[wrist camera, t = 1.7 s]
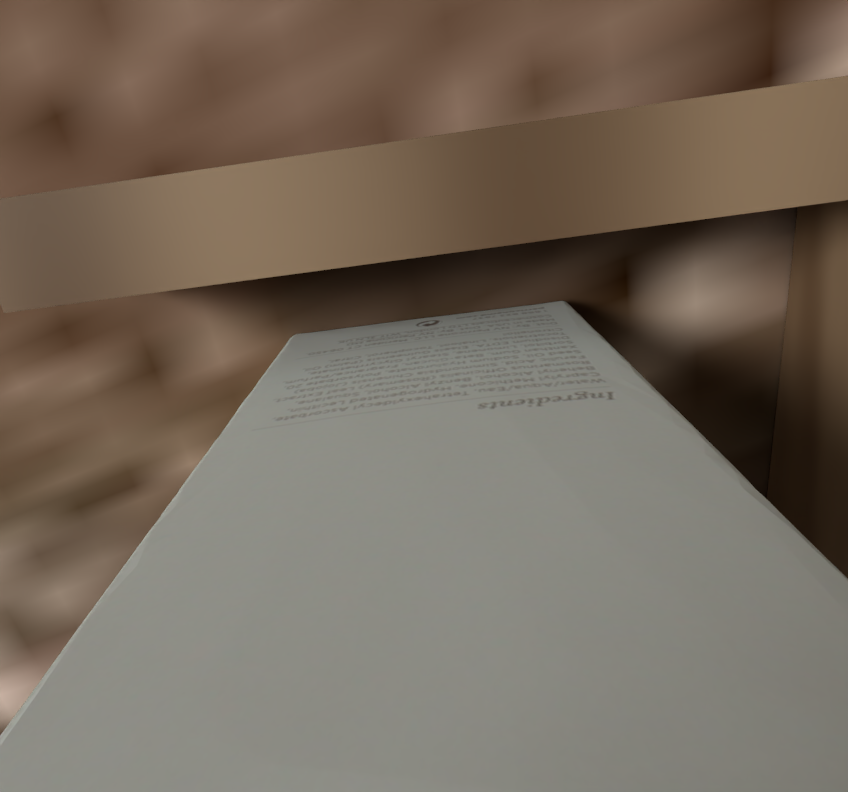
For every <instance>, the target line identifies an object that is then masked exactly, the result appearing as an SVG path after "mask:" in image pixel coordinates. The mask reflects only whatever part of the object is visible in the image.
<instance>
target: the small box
mask: <svg viewBox="0 0 848 792" xmlns="http://www.w3.org/2000/svg"><path fill="white" fill-rule="evenodd" d="M0 792H848V578H847V577H846V576H845V575H844V574H842V573H841V572H840V571H839V570H838V569H837V568H836V567H835V566H834V565H833V564H832V563H831V562H830V561H829V560H828V559H827V558H826V557H825V556H824V555H823V554H822V553H821V552H820V551H819V550H818V549H817V548H816V547H815V546H814V545H813V544H812V543H811V542H810V541H809V540H808V539H807V538H806V537H804V536H803V535H802V534H801V533H800V532H799V531H798V530H797V529H796V528H795V527H794V526H793V525H792V524H791V523H790V522H789V521H788V520H787V519H786V518H785V517H784V516H783V515H782V514H781V513H780V512H779V511H778V510H777V509H776V508H775V507H774V506H773V505H772V504H771V503H770V502H769V501H768V500H767V499H766V498H765V497H764V496H763V495H762V494H761V493H759V492H758V491H757V490H756V489H755V488H754V487H753V486H752V484H751V483H750V482H749V481H748V480H747V479H746V478H745V477H744V476H743V475H742V474H741V473H740V472H739V471H738V470H737V469H736V468H735V467H734V466H733V465H732V464H731V463H730V462H729V461H728V460H727V459H726V458H725V457H724V456H723V455H722V454H721V453H720V452H719V451H718V450H717V449H716V448H715V447H714V446H713V445H712V444H711V443H710V442H709V441H708V440H707V439H706V438H705V437H704V436H703V435H702V434H701V433H700V432H699V431H698V430H697V429H696V428H695V427H694V426H693V425H692V424H691V423H690V422H689V421H688V420H687V419H686V418H685V417H684V416H683V415H682V414H681V413H680V412H678V411H677V410H676V409H675V408H674V407H673V406H672V405H671V404H670V403H669V402H668V401H667V400H666V399H665V398H664V397H663V396H662V395H661V394H660V393H659V392H658V391H657V390H656V389H655V388H654V387H653V386H652V385H651V384H650V383H649V382H648V381H647V380H646V379H645V378H644V377H643V376H642V375H641V374H640V373H639V372H638V371H637V370H636V369H635V368H634V367H633V366H632V365H631V364H630V363H629V362H628V361H627V360H626V359H625V358H624V357H623V356H622V355H620V354H619V353H618V352H617V351H616V350H615V349H614V348H613V347H612V346H611V345H610V344H609V343H608V342H607V341H606V340H605V339H604V338H603V337H602V336H601V335H600V334H599V333H598V332H597V331H596V330H595V329H593V328H592V327H591V326H590V325H589V324H588V323H587V322H586V321H585V320H584V318H583V317H582V316H581V315H579V314H578V313H577V312H576V311H575V310H574V309H573V308H572V307H571V306H570V305H569V304H568V303H567V302H566V301H557V302H550V303H542V304H535V305H527V306H519V307H510V308H502V309H494V310H486V311H478V312H470V313H462V314H454V315H446V316H437V317H429V318H421V319H413V320H404V321H396V322H389V323H381V324H374V325H366V326H358V327H350V328H342V329H334V330H326V331H318V332H311V333H301V334H296V335H293V336H292V337H291V338H290V339H289V341H288V342H287V343H286V345H285V346H284V348H283V349H282V350H281V352H280V353H279V354H278V356H277V357H276V358H275V360H274V361H273V362H272V364H271V365H270V367H269V368H268V369H267V371H266V372H265V373H264V375H263V376H262V377H261V379H260V380H259V381H258V383H257V385H256V386H255V388H254V389H253V390H252V392H251V393H250V394H249V395H248V397H247V398H246V399H245V400H244V402H243V403H242V404H241V405H240V407H239V408H238V410H237V412H236V413H235V415H234V416H233V417H232V419H231V420H230V422H229V423H228V424H227V426H226V427H225V429H224V430H223V431H222V433H221V434H220V435H219V437H218V438H217V439H216V441H215V442H214V443H213V445H212V446H211V447H210V449H209V450H208V452H207V453H206V455H205V456H204V457H203V459H202V460H201V461H200V463H199V464H198V465H197V466H196V468H195V469H194V471H193V472H192V473H191V475H190V476H189V477H188V479H187V480H186V481H185V483H184V484H183V486H182V487H181V488H180V490H179V491H178V493H177V494H176V496H175V497H174V498H173V500H172V501H171V502H170V504H169V505H168V506H167V508H166V509H165V511H164V512H163V513H162V515H161V516H160V518H159V519H158V521H157V522H156V523H155V525H154V526H153V527H152V529H151V530H150V531H149V532H148V534H147V535H146V536H145V538H144V539H143V540H142V542H141V543H140V545H139V546H138V547H137V549H136V550H135V552H134V553H133V554H132V556H131V557H130V558H129V560H128V561H127V563H126V564H125V565H124V567H123V568H122V569H121V571H120V572H119V574H118V575H117V576H116V578H115V579H114V580H113V582H112V583H111V584H110V586H109V587H108V588H107V590H106V591H105V593H104V594H103V595H102V597H101V598H100V599H99V601H98V602H97V603H96V605H95V606H94V608H93V609H92V610H91V612H90V613H89V614H88V616H87V617H86V618H85V620H84V621H83V622H82V624H81V625H80V627H79V628H78V629H77V631H76V632H75V634H74V635H73V636H72V638H71V639H70V641H69V642H68V643H67V645H66V646H65V647H64V649H63V650H62V652H61V653H60V654H59V656H58V657H57V659H56V660H55V661H54V663H53V664H52V665H51V667H50V668H49V670H48V671H47V672H46V674H45V675H44V677H43V678H42V679H41V681H40V682H39V684H38V685H37V686H36V688H35V689H34V690H33V692H32V693H31V695H30V696H29V697H28V699H27V700H26V701H25V703H24V704H23V705H22V707H21V708H20V710H19V711H18V712H17V714H16V715H15V716H14V718H13V719H12V720H11V722H10V723H9V724H8V726H7V727H6V729H5V730H4V731H3V733H2V734H1V736H0Z"/></svg>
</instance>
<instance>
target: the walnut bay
mask: <svg viewBox="0 0 848 792" xmlns="http://www.w3.org/2000/svg"><path fill="white" fill-rule="evenodd" d="M792 207H798V208H797V217H796V227H795V236H794V246H793V255H792V264H791V274H790V283H789V293H788V302H787V312H786V321H785V330H784V340H783V349H782V359H781V368H780V378H779V387H778V396H777V406H776V415H775V425H774V434H773V444H772V453H771V462H770V472H769V481H768V491H767V500H768V501H769V502H770V503H771V504H772V505H773V506H774V507H775V508H776V509H777V510H778V511H779V512H780V513H781V514H782V515H783V516H784V517H785V518H786V519H787V520H788V521H789V522H790V523H791V524H792V525H793V526H794V527H795V528H796V529H797V530H798V531H799V532H800V533H801V534H802V535H803V536H804V537H806V538H807V539H808V540H809V541H810V542H811V543H812V544H813V545H814V546H815V547H816V548H817V549H818V550H819V551H820V552H821V553H822V554H823V555H824V556H825V557H826V558H827V559H828V560H829V561H830V562H831V563H832V564H833V565H834V566H835V567H836V568H837V569H838V570H839V571H840V572H841V573H842V574H844V575H845V576H846V577H847V578H848V76H843V77H837V78H830V79H823V80H816V81H809V82H802V83H795V84H788V85H781V86H775V87H768V88H761V89H754V90H747V91H740V92H733V93H726V94H719V95H713V96H706V97H699V98H692V99H685V100H678V101H671V102H664V103H657V104H650V105H644V106H637V107H630V108H623V109H616V110H609V111H602V112H595V113H588V114H582V115H575V116H568V117H561V118H554V119H547V120H540V121H533V122H526V123H519V124H513V125H506V126H499V127H492V128H485V129H478V130H471V131H464V132H457V133H451V134H444V135H437V136H430V137H423V138H416V139H409V140H402V141H395V142H388V143H382V144H375V145H368V146H361V147H354V148H347V149H340V150H333V151H326V152H320V153H313V154H306V155H299V156H292V157H285V158H278V159H271V160H264V161H258V162H251V163H244V164H237V165H230V166H223V167H216V168H209V169H202V170H195V171H189V172H182V173H175V174H168V175H161V176H154V177H147V178H140V179H133V180H127V181H120V182H113V183H106V184H99V185H92V186H85V187H78V188H71V189H64V190H58V191H51V192H44V193H37V194H30V195H23V196H16V197H9V198H2V199H0V304H1V307H2V309H3V312H4V313H7V312H14V311H22V310H29V309H37V308H44V307H52V306H59V305H67V304H74V303H82V302H89V301H97V300H104V299H111V298H119V297H126V296H134V295H141V294H149V293H156V292H164V291H171V290H179V289H186V288H194V287H201V286H209V285H216V284H224V283H231V282H239V281H246V280H254V279H261V278H268V277H276V276H283V275H291V274H298V273H306V272H313V271H321V270H328V269H336V268H343V267H351V266H358V265H366V264H373V263H381V262H388V261H396V260H403V259H410V258H418V257H425V256H433V255H440V254H448V253H455V252H463V251H470V250H478V249H485V248H493V247H500V246H508V245H515V244H523V243H530V242H538V241H545V240H553V239H560V238H567V237H575V236H582V235H590V234H597V233H605V232H612V231H620V230H627V229H635V228H642V227H650V226H657V225H665V224H672V223H680V222H687V221H695V220H702V219H710V218H717V217H724V216H732V215H739V214H747V213H754V212H762V211H769V210H777V209H784V208H792Z"/></svg>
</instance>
